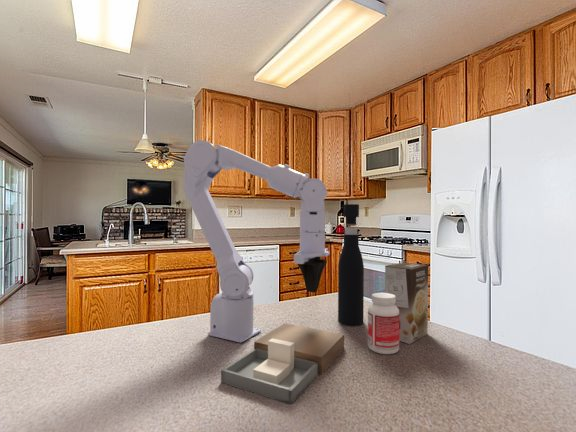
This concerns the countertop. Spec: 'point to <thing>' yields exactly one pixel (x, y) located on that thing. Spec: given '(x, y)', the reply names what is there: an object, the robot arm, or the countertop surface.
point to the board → (307, 343)
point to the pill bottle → (383, 324)
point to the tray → (284, 391)
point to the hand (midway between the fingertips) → (312, 291)
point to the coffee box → (409, 298)
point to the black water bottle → (351, 273)
